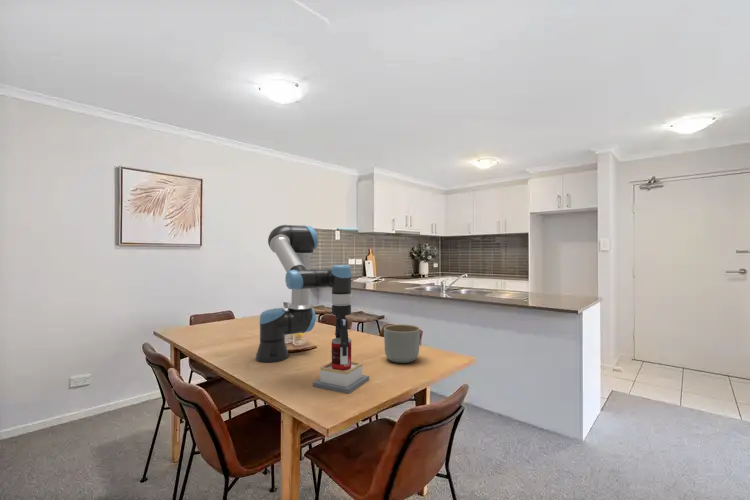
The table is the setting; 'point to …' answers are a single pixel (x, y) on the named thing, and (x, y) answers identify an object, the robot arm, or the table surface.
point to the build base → (341, 388)
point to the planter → (401, 342)
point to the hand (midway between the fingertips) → (341, 359)
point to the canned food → (336, 355)
